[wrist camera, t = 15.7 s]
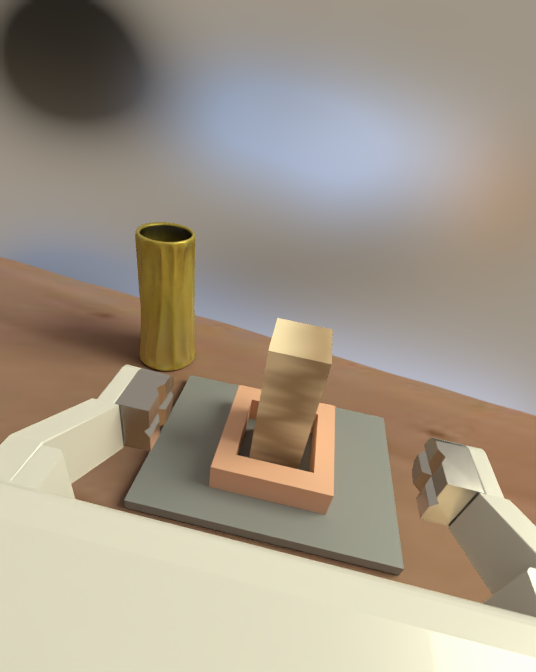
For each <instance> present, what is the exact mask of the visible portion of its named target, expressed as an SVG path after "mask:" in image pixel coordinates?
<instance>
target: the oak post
mask: <svg viewBox="0 0 536 672" xmlns="http://www.w3.org/2000/svg"><path fill="white" fill-rule="evenodd" d="M332 332H333V330H331V329H327V328H322V327H318V326H313V325H308V324H303V323H299V322H294V321H289V320H284V319H280V318H277V322H276V325H275V329H274V333H273V336H272V340H271V343H270V347H269V350H268V355H267V361H266V367H265V372H264V378H263V383H262V389H261V394H260V400H259V405H258V411H257V417H256V422H255V428H254V433H253V439H252V444H251V450H250V455H249V458H252V459H256V460H261V461H265V462H269V463H273V464H278V465H282V466H286V467H290V468H295V469H299V466H300V463H301V459H302V456H303V453H304V450H305V447H306V444H307V440H308V437H309V434H310V431H311V428H312V425H313V421H314V418H315V415H316V412H317V409H318V406H319V402H320V399H321V396H322V393H323V390H324V387H325V383H326V380H327V377H328V374H329V371H330V368H331V364H332V336H333V333H332Z"/></svg>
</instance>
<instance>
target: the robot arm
mask: <svg viewBox="0 0 536 672" xmlns="http://www.w3.org/2000/svg"><path fill="white" fill-rule="evenodd" d="M173 385H174V384H173V377H172V376H170V375H166V374H163V373H159V372H155V371H151V370H147V369H144V368H139V367H135V366H131V365H125V366H123V367H122V368H121V369H120V371H119V372H118V373H117V374H116V376H115V377H114V378H113V379H112V381H111V382H110V383H109V384H108V386H107V387H106V388H105V389H104V391H103V392H102V393H101V395H100V396H99V397H98V398H97V399H93V398H92V399H89V400H87V401H85V402H83V403H80V404H78V405H76V406H74V407H72V408H69V409H67V410H65V411H63V412H60V413H58V414H56V415H54V416H51V417H49V418H47V419H45V420H42V421H40V422H38V423H36V424H33V425H31V426H29V427H27V428H24V429H22V430H20V431H18V432H15V433H13V434H11V435H9V436H8V437H7V439H6V440H5V441H4V442H3V443H2V444H1V445H0V672H536V527H535V525H534V524H533V523H532V522H531V521H530V520H529V519H528V518H527V517H526V516H525V515H524V514H523V513H522V512H521V511H520V510H519V509H518V508H517V507H516V506H515V505H514V504H513V503H512V502H511V501H510V500H507V499H504V497H503V494H502V492H501V490H500V487H499V485H498V482H497V480H496V477H495V475H494V472H493V470H492V468H491V465H490V463H489V460H488V458H487V455H486V453H485V452H484V451H483V450H482V449H479V448H475V447H470V446H466V445H462V444H457V443H453V442H449V441H444V440H440V439H435V438H430V439H428V440H427V442H426V443H425V445H424V446H425V451H424V452H422V453H420V454H418V456H417V457H416V459H415V461H414V464H413V469H412V477H413V483H414V485H415V486H416V488H417V489H418V490H419V492H420V493H419V494H418V496H417V497H416V500H417V505H418V510H419V515H420V519H423V520H427V521H431V522H434V523H438V524H441V525H445V526H449V530H450V531H451V533H452V534H453V536H454V537H455V539H456V540H457V542H458V543H459V545H460V546H461V548H462V549H463V551H464V552H465V554H466V555H467V557H468V558H469V560H470V561H471V563H472V564H473V566H474V567H475V569H476V570H477V572H478V573H479V575H480V576H481V578H482V579H483V581H484V582H485V584H486V585H487V587H488V588H489V590H490V591H491V593H492V594H493V595H492V596H490V597H489V598H488V599H486V600H485V601H484V602H482V603H478V602H474V601H470V600H466V599H462V598H459V597H455V596H451V595H447V594H443V593H439V592H435V591H431V590H427V589H423V588H420V587H416V586H412V585H408V584H404V583H400V582H396V581H392V580H388V579H385V578H381V577H377V576H373V575H369V574H365V573H361V572H357V571H353V570H349V569H346V568H342V567H338V566H334V565H330V564H326V563H322V562H318V561H314V560H311V559H307V558H303V557H299V556H295V555H291V554H287V553H283V552H279V551H275V550H271V549H267V548H264V547H260V546H256V545H252V544H248V543H244V542H240V541H236V540H232V539H228V538H224V537H221V536H217V535H213V534H209V533H205V532H201V531H197V530H193V529H189V528H186V527H182V526H178V525H174V524H170V523H166V522H162V521H158V520H154V519H151V518H147V517H143V516H139V515H135V514H131V513H127V512H123V511H119V510H115V509H112V508H108V507H104V506H100V505H96V504H92V503H88V502H84V501H80V500H77V499H75V496H74V493H73V489H72V486H71V484H72V483H73V482H75V481H76V480H77V479H79V478H80V477H82V476H83V475H85V474H86V473H87V472H89V471H90V470H92V469H93V468H95V467H96V466H98V465H99V464H100V463H102V462H103V461H105V460H106V459H108V458H109V457H111V456H112V455H113V454H115V453H116V452H118V451H119V450H121V449H122V448H123V447H124V446H127V447H132V448H137V449H141V450H146V451H150V452H151V450H152V448H153V446H154V444H155V443H156V441H157V439H158V437H159V435H160V426H162V425H164V424H165V423H166V422H167V420H168V418H169V415H170V412H171V409H172V405H173V394H172V393H171V391H170V390H171V389H172V387H173Z"/></svg>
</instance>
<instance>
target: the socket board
mask: <svg viewBox="0 0 536 672" xmlns="http://www.w3.org/2000/svg"><path fill="white" fill-rule="evenodd" d="M260 394H261V390H260V389H256V388H252V387H247V386H243V385H239V386H238V385H233V384H229V383H224V382H220V381H215V380H211V379H206V378H202V377H197V376H193V375H191V376H190V377H189V379H188V381H187V383H186V385H185V387H184V389H183V390H182V392H181V394H180V396H179V398H178V400H177V402H176V404H175V405H174V407H173V409H172V411H171V413H170V415H169V418H168V420H167V422H166V423H165V424H164V426H163V428H162V430H161V432H160V435H159V437H158V439H157V441H156V443H155V444H154V446H153V448H152V450H151V452H149V454H148V456H147V458H146V460H145V462H144V463H143V465H142V467H141V469H140V471H139V473H138V475H137V477H136V478H135V480H134V482H133V484H132V486H131V488H130V490H129V491H128V493H127V495H126V497H125V499H124V504H125V508H129V509H133V510H137V511H141V512H145V513H149V514H153V515H157V516H161V517H165V518H169V519H173V520H177V521H181V522H185V523H189V524H193V525H197V526H201V527H205V528H209V529H214V530H218V531H222V532H226V533H230V534H234V535H238V536H242V537H246V538H250V539H254V540H258V541H262V542H266V543H270V544H274V545H278V546H282V547H286V548H290V549H294V550H298V551H302V552H307V553H311V554H315V555H319V556H323V557H327V558H331V559H335V560H339V561H343V562H347V563H351V564H355V565H359V566H363V567H367V568H371V569H375V570H379V571H383V572H387V573H391V574H395V575H399V574H400V573H401V572H402V571H403V569H404V567H403V560H402V552H401V545H400V537H399V530H398V522H397V515H396V507H395V500H394V493H393V485H392V478H391V470H390V463H389V455H388V448H387V441H386V433H385V426H384V418H381V417H377V416H372V415H368V414H363V413H359V412H354V411H350V410H345V409H341V408H336V407H335V406H332V405H328V404H323V403H319V406H318V409H317V412H316V415H315V418H314V421H313V425H312V428H311V431H310V434H309V437H308V440H307V444H306V447H305V450H304V453H303V456H302V459H301V463H300V466H299V469H295V468H290V467H286V466H282V465H278V464H273V463H269V462H265V461H261V460H256V459H252V458H249V455H250V450H251V444H252V439H253V433H254V428H255V422H256V417H257V411H258V405H259V400H260Z"/></svg>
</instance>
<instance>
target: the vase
mask: <svg viewBox="0 0 536 672" xmlns="http://www.w3.org/2000/svg"><path fill="white" fill-rule="evenodd" d="M135 238H136V251H137V265H138V280H139V293H140V303H141V340H140V353H139V354H140V358H141V360H142V362H143V363H144V364H145V365H147V366H148V367H150V368H153V369H156V370H160V371H174V370H178V369H181V368H184V367H186V366H187V365H189V364H190V363H191V362H192V361H193V360H194V358H195V355H196V350H195V323H194V318H195V311H194V305H195V285H194V284H195V283H194V282H195V278H194V277H195V276H194V275H195V274H194V272H195V270H194V269H195V233H194V232H193V231H192V230H191V229H190V228H188V227H186V226H183V225H179V224H174V223H167V222H155V223H147V224H143V225H141V226H139V227H138V228H137V230H136V235H135Z"/></svg>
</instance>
